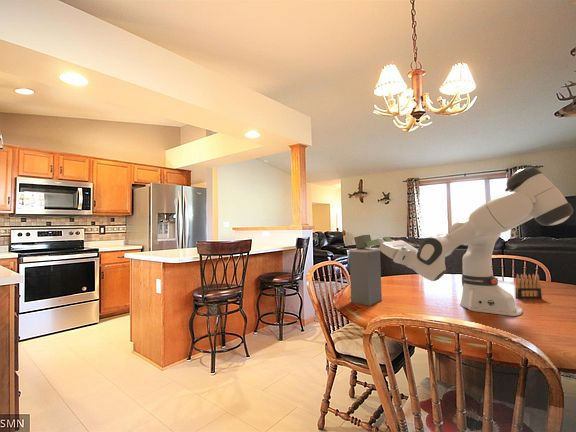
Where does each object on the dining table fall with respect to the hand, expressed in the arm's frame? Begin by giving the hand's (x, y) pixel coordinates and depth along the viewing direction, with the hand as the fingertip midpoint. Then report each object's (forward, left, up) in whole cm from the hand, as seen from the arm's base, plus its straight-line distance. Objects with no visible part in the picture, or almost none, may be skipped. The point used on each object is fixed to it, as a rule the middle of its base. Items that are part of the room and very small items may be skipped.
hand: (382, 239), depth 140 cm
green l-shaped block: (+4, 0, -3) cm, 5 cm away
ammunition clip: (-47, -55, -31) cm, 79 cm away
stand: (+10, 0, -31) cm, 33 cm away
